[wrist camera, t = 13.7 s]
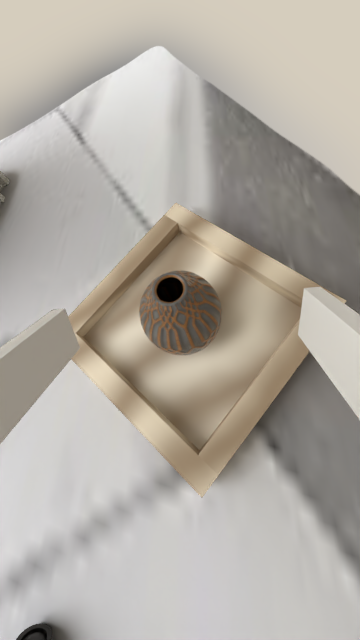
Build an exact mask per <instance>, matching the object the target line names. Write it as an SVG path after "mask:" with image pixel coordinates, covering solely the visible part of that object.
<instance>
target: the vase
mask: <svg viewBox="0 0 360 640" xmlns="http://www.w3.org/2000/svg"><path fill="white" fill-rule="evenodd" d="M139 315H140V322H141V325H142V328H143V330H144V332H145V334H146V336H147V337H148V339H149V340H150V341H151V342H152V343H153V344H154V345H155V346H156V347H158V348H159V349H161V350H163V351H165V352H167V353H170V354H173V355H181V356H183V355H191V354H195V353H197V352H199V351H201V350H203V349H205V348H206V347H207V346H208V345H209V344H210V343H211V342H212V341H213V340H214V339H215V337H216V335H217V334H218V331H219V329H220V326H221V321H222V307H221V302H220V299H219V297H218V295H217V293H216V291H215V290H214V288H213V287H212V286H211V284H210V283H209V282H208V281H206V280H205V279H204V278H202V277H201V276H199V275H197V274H195V273H192V272H189V271H171V272H167V273H165V274H162V275H160V276H159V277H157V278H156V279H154V280H153V281H152V282H151V283H150V284H149V285H148V287H147V288H146V290H145V291H144V293H143V295H142V298H141V302H140V308H139Z"/></svg>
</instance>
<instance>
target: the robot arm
mask: <svg viewBox="0 0 360 640" xmlns="http://www.w3.org/2000/svg"><path fill="white" fill-rule="evenodd" d="M298 336H299V337H300V338H301V340H302V341H303V342H304V344H305V345H306V347H307V348H308V349H309V351H310V352H311V353H312V355H313V356H314V358H315V359H316V360H317V362H318V363H319V364H320V366H321V367H322V369H323V370H324V371H325V373H326V374H327V376H328V377H329V378H330V380H331V381H332V382H333V384H334V385H335V387H336V388H337V389H338V391H339V392H340V393H341V395H342V396H343V398H344V399H345V400H346V402H347V403H348V404H349V406H350V407H351V409H352V410H353V411H354V413H355V414H356V415H357V417H358V418H359V420H360V315H359V314H358V313H356V312H355V311H354V310H352V309H351V308H349V307H348V306H347V305H345V304H344V303H342V302H341V301H340V300H338V299H337V298H335V297H334V296H333V295H331V294H330V293H328V292H327V291H326V290H324V289H323V288H321V287H311V288H304V292H303V299H302V307H301V314H300V322H299V330H298ZM79 349H80V346H79V343H78V341H77V338H76V336H75V333H74V331H73V328H72V326H71V323H70V321H69V318H68V315H67V313H66V310H65V309H55V310H52V311H50V312H49V313H48V314H46V315H45V316H43V317H42V318H41V319H39V320H38V321H37V322H35V323H34V324H32V325H31V326H30V327H28V328H27V329H25V330H24V331H23V332H21V333H20V334H19V335H17V336H16V337H14V338H13V339H12V340H10V341H9V342H8V343H6V344H5V345H3V346H2V347H1V348H0V444H1V442H2V441H3V440H4V439H5V438H6V436H7V435H8V434H9V433H10V432H11V430H12V429H13V428H14V427H15V426H16V424H17V423H18V422H19V421H20V420H21V418H22V417H23V416H24V415H25V414H26V412H27V411H28V410H29V409H30V408H31V406H32V405H33V404H34V403H35V402H36V400H37V399H38V398H39V397H40V396H41V394H42V393H43V392H44V391H45V390H46V388H47V387H48V386H49V385H50V384H51V382H52V381H53V380H54V379H55V378H56V376H57V375H58V374H59V373H60V372H61V370H62V369H63V368H64V367H65V366H66V364H67V363H68V362H69V361H70V360H71V358H72V357H73V356H74V355H75V354H76V352H77V351H78V350H79Z"/></svg>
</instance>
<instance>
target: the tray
mask: <svg viewBox="0 0 360 640" xmlns="http://www.w3.org/2000/svg"><path fill="white" fill-rule="evenodd" d="M171 271H189V272H192V273H195V274H197V275H199V276H201V277H202V278H204V279H205V280H206V281H208V282H209V283H210V284H211V286H212V287H213V288H214V290H215V291H216V293H217V295H218V297H219V299H220V302H221V307H222V321H221V326H220V329H219V331H218V334H217V335H216V337H215V339H214V340H213V341H212V342H211V343H210V344H209V345H208V346H207V347H206V348H205V349H203V350H201V351H199V352H197V353H195V354H191V355H183V356H181V355H173V354H170V353H167V352H165V351H163V350H161V349H159V348H158V347H156V346H155V345H154V344H153V343H152V342H151V341H150V340H149V339H148V337H147V336H146V334H145V332H144V330H143V328H142V325H141V322H140V315H139V308H140V302H141V298H142V295H143V293H144V291H145V290H146V288H147V287H148V285H149V284H150V283H151V282H152V281H153V280H154V279H156V278H157V277H159V276H160V275H162V274H165V273H167V272H171ZM311 287H321V288H323V287H322V286H320V285H318V284H316V283H315V282H313V281H311V280H309V279H308V278H306V277H304V276H302V275H301V274H299V273H297V272H296V271H294V270H292V269H290V268H289V267H287V266H285V265H283V264H282V263H280V262H278V261H276V260H275V259H273V258H271V257H269V256H268V255H266V254H264V253H262V252H261V251H259V250H257V249H255V248H254V247H252V246H250V245H249V244H247V243H245V242H243V241H242V240H240V239H238V238H236V237H235V236H233V235H231V234H229V233H228V232H226V231H224V230H222V229H221V228H219V227H217V226H215V225H214V224H212V223H210V222H208V221H207V220H205V219H203V218H202V217H200V216H198V215H196V214H195V213H193V212H191V211H189V210H188V209H186V208H184V207H182V206H181V205H179V204H177V203H175V204H174V205H173V206H172V207H171V208H170V209H169V210H168V212H167V213H166V214H165V215H164V216H163V217H162V218H161V219H160V220H159V221H158V222H157V223H156V224H155V225H154V226H153V227H152V229H151V230H150V231H149V232H148V233H147V234H146V235H145V236H144V237H143V238H142V239H141V240H140V241H139V242H138V243H137V244H136V245H135V247H134V248H133V249H132V250H131V251H130V252H129V253H128V254H127V255H126V256H125V257H124V258H123V259H122V260H121V261H120V262H119V263H118V265H117V266H116V267H115V268H114V269H113V270H112V271H111V272H110V273H109V274H108V275H107V276H106V277H105V278H104V279H103V280H102V281H101V283H100V284H99V285H98V286H97V287H96V288H95V289H94V290H93V291H92V292H91V293H90V294H89V295H88V296H87V297H86V298H85V300H84V301H83V302H82V303H81V304H80V305H79V306H78V307H77V308H76V309H75V310H74V311H73V312H72V313H71V314H70V315H69V316H68V318H69V321H70V323H71V326H72V328H73V331H74V333H75V336H76V338H77V341H78V343H79V346H80V349H79V350H78V351H77V352H76V354H75V355H74V356H73V357H72V358H71V359H72V360H73V361H74V362H75V363H76V365H77V366H78V367H79V368H80V369H81V370H82V371H83V372H84V373H85V374H86V375H87V376H88V377H89V378H90V379H91V380H92V382H93V383H94V384H95V385H96V386H97V387H98V388H99V389H100V390H101V391H102V392H103V393H104V394H105V395H106V396H107V397H108V399H109V400H110V401H111V402H112V403H113V404H114V405H115V406H116V407H117V408H118V409H119V410H120V411H121V412H122V413H123V414H124V416H125V417H126V418H127V419H128V420H129V421H130V422H131V423H132V424H133V425H134V426H135V427H136V428H137V429H138V430H139V431H140V433H141V434H142V435H143V436H144V437H145V438H146V439H147V440H148V441H149V442H150V443H151V444H152V445H153V446H154V447H155V448H156V450H157V451H158V452H159V453H160V454H161V455H162V456H163V457H164V458H165V459H166V460H167V461H168V462H169V463H170V464H171V465H172V467H173V468H174V469H175V470H176V471H177V472H178V473H179V474H180V475H181V476H182V477H183V478H184V479H185V480H186V481H187V482H188V484H189V485H190V486H191V487H192V488H193V489H194V490H195V491H196V492H197V493H198V494H199V495H200V496H201V497H203V496H204V494H205V493H206V492H207V490H208V489H209V488H210V486H211V485H212V483H213V482H214V481H215V479H216V478H217V477H218V475H219V474H220V473H221V471H222V470H223V468H224V467H225V466H226V464H227V463H228V462H229V460H230V459H231V458H232V456H233V455H234V453H235V452H236V451H237V449H238V448H239V447H240V445H241V444H242V443H243V441H244V440H245V438H246V437H247V436H248V434H249V433H250V432H251V430H252V429H253V428H254V426H255V425H256V424H257V422H258V421H259V419H260V418H261V417H262V415H263V414H264V413H265V411H266V410H267V409H268V407H269V406H270V404H271V403H272V402H273V400H274V399H275V398H276V396H277V395H278V394H279V392H280V391H281V389H282V388H283V387H284V385H285V384H286V383H287V381H288V380H289V379H290V377H291V376H292V374H293V373H294V372H295V370H296V369H297V368H298V366H299V365H300V364H301V362H302V361H303V359H304V358H305V357H306V355H307V354H308V353H309V349H308V348H307V347H306V345H305V344H304V342H303V341H302V340H301V338H300V337H299V336H298V330H299V322H300V314H301V307H302V299H303V292H304V288H311ZM323 289H324V290H326V291H327V292H328V293H330V294H331V295H333V296H334V297H335V298H337V299H338V300H340V301H341V302H342V303H344V304H345V302H346V300H344V299H343V298H341V297H339V296H337V295H336V294H334V293H332V292H330V291H329V290H327V289H325V288H323Z"/></svg>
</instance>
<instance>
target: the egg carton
mask: <svg viewBox="0 0 360 640" xmlns="http://www.w3.org/2000/svg"><path fill="white" fill-rule="evenodd" d="M9 181H10V180H9V179H8V178H7V177H6V176H5V175H4V174H3V173H2V172H1V171H0V191H1V189H2V188H3V187H5V186H7V185H8V184H9ZM4 199H5V197H4V196H3V195H2V194H1V193H0V203H3V202H4Z"/></svg>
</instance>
